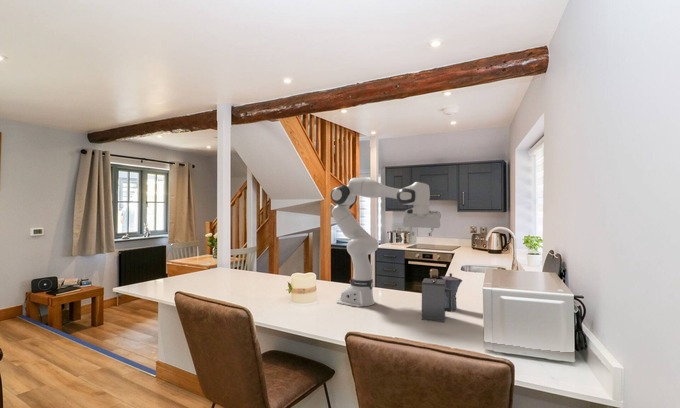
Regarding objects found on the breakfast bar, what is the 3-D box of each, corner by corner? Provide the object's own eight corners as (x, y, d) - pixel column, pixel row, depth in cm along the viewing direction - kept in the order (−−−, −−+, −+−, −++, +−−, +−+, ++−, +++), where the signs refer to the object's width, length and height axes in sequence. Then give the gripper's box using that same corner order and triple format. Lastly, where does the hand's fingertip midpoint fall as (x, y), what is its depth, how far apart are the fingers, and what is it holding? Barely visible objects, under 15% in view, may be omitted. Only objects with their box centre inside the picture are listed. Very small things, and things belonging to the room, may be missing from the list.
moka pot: (463, 312, 192) (463, 275, 192) (434, 310, 195) (434, 274, 195) (460, 307, 201) (461, 272, 201) (433, 305, 204) (433, 271, 204)
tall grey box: (421, 320, 178) (421, 282, 178) (423, 313, 188) (424, 278, 188) (450, 323, 173) (451, 284, 173) (451, 316, 183) (451, 280, 184)
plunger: (425, 315, 179) (425, 270, 179) (426, 311, 186) (427, 267, 186) (440, 317, 176) (441, 271, 176) (441, 313, 184) (442, 268, 184)
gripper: (441, 211, 195) (441, 236, 195) (404, 210, 202) (404, 234, 202) (440, 211, 189) (440, 236, 189) (402, 210, 196) (402, 235, 196)
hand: (421, 235), depth 195 cm, fingers open, 8 cm apart
